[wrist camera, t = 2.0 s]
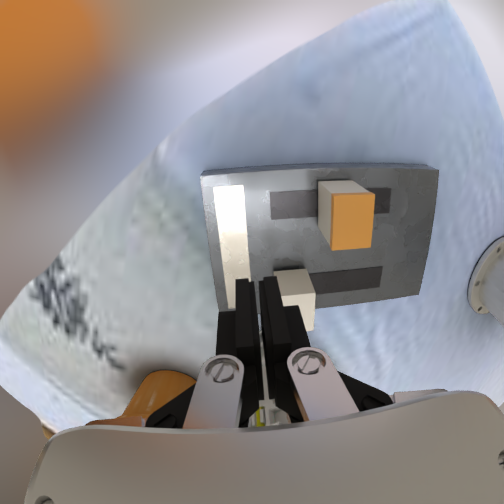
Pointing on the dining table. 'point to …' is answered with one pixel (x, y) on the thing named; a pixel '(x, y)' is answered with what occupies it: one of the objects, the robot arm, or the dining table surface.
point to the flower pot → (157, 392)
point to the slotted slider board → (309, 235)
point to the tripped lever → (345, 214)
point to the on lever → (298, 293)
